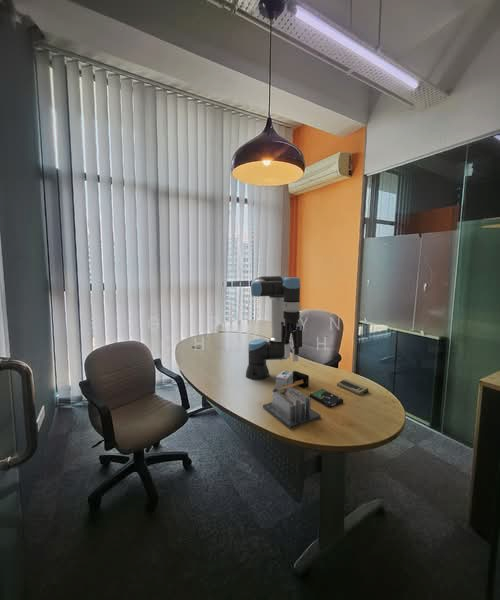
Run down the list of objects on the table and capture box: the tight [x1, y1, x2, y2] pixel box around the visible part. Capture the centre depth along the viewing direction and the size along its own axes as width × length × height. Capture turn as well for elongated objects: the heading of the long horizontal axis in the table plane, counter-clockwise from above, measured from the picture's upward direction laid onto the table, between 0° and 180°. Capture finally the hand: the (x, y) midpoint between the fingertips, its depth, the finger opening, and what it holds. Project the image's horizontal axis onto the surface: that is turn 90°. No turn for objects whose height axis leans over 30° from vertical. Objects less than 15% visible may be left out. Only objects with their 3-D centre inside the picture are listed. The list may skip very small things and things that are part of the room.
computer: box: [336, 378, 369, 396], centre depth 160 cm, size 16×8×3 cm, turn 33°
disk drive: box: [308, 388, 344, 409], centre depth 147 cm, size 10×3×15 cm
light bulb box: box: [275, 370, 294, 393], centre depth 156 cm, size 11×7×11 cm, turn 152°
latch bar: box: [277, 380, 304, 391], centre depth 134 cm, size 19×4×2 cm
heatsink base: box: [262, 385, 322, 430], centre depth 134 cm, size 22×18×10 cm
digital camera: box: [292, 370, 310, 389], centre depth 166 cm, size 10×5×7 cm, turn 41°
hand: (291, 359), depth 131 cm, fingers open, 5 cm apart
